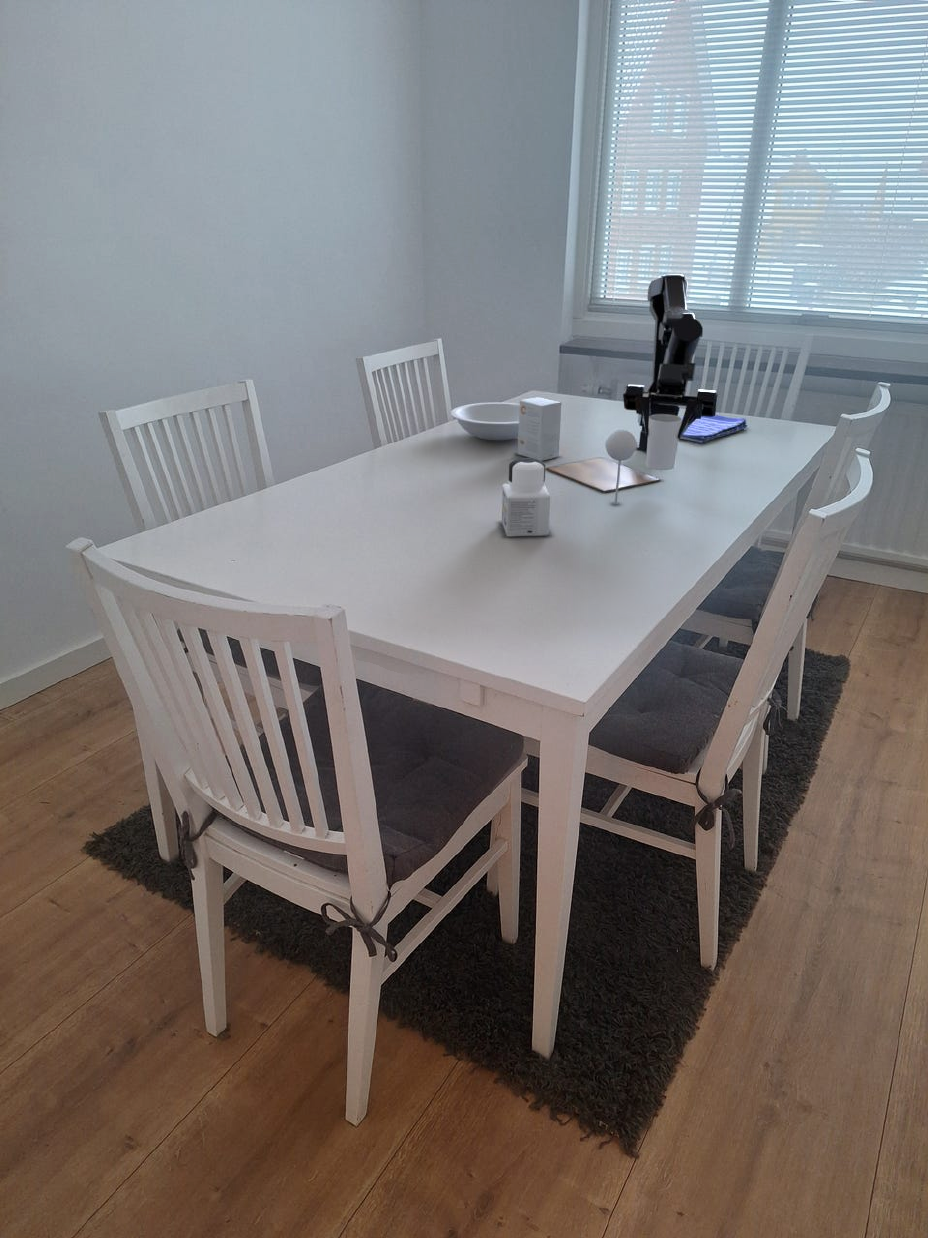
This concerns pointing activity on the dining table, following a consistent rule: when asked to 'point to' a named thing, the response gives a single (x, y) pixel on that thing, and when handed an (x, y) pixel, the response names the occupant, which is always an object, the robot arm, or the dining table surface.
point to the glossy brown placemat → (602, 474)
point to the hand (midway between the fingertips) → (662, 436)
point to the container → (526, 499)
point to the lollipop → (620, 449)
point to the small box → (539, 428)
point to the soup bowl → (489, 420)
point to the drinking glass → (662, 441)
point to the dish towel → (712, 428)
